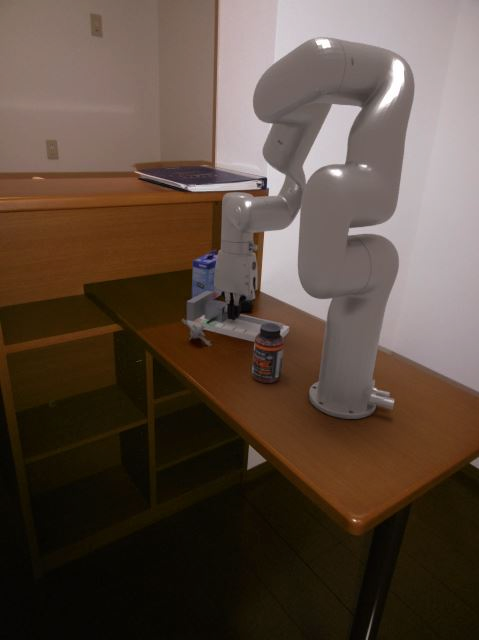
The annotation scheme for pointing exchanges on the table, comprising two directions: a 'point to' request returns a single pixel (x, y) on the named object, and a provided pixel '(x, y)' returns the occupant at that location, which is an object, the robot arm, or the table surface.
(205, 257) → the ink cartridge box
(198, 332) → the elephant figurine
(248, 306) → the tape measure
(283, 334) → the board
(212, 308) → the block
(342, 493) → the table surface
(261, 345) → the supplement bottle
